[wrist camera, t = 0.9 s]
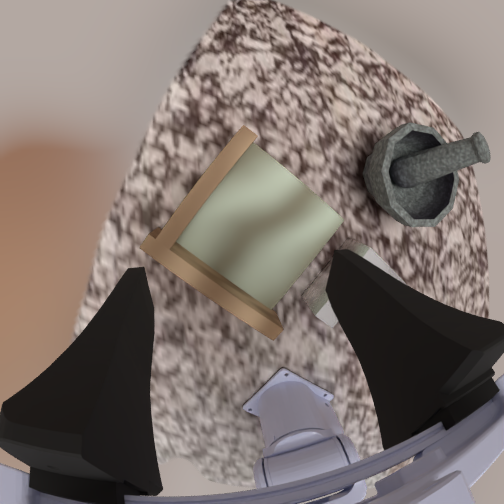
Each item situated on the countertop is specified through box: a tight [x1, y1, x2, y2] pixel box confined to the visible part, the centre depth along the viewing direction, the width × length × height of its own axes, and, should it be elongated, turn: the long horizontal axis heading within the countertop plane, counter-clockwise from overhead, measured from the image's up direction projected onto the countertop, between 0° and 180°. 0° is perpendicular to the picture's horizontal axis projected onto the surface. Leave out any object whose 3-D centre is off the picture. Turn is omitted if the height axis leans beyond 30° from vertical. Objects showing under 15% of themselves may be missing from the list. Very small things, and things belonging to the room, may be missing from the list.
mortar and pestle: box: [363, 123, 490, 227], centre depth 23 cm, size 11×9×12 cm
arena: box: [140, 125, 344, 341], centre depth 26 cm, size 15×14×4 cm
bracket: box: [301, 238, 407, 328], centre depth 28 cm, size 8×6×5 cm
